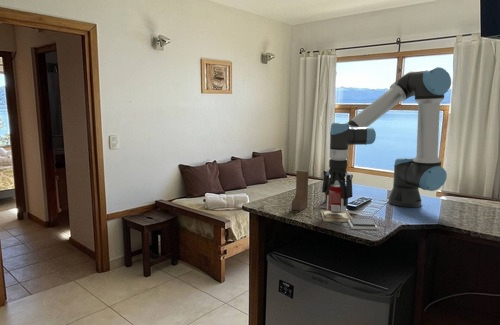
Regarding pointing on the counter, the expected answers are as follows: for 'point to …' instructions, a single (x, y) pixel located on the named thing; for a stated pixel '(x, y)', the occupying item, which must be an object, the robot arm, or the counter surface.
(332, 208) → the soda can
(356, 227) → the pad
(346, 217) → the board
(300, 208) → the wooden block
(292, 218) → the counter surface
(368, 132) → the robot arm
